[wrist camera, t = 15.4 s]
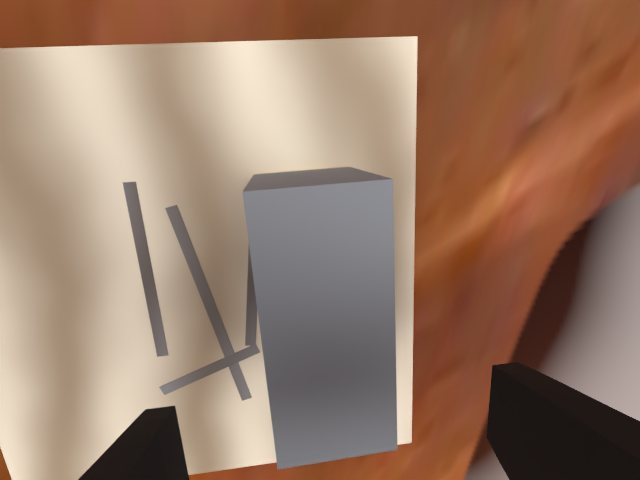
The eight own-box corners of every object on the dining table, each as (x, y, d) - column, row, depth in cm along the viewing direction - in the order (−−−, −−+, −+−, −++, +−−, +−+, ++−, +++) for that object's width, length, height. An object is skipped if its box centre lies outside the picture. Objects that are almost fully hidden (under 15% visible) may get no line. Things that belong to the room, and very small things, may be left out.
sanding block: (276, 361, 17) (277, 469, 12) (254, 173, 15) (242, 191, 9) (357, 350, 18) (397, 449, 12) (348, 166, 15) (393, 178, 10)
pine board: (34, 477, 19) (18, 500, 18) (-105, 60, 14) (-141, 52, 12) (404, 426, 21) (411, 443, 20) (407, 44, 16) (417, 36, 14)
